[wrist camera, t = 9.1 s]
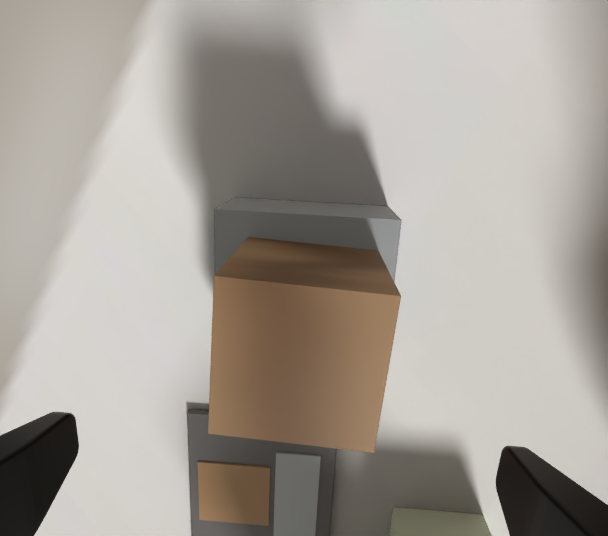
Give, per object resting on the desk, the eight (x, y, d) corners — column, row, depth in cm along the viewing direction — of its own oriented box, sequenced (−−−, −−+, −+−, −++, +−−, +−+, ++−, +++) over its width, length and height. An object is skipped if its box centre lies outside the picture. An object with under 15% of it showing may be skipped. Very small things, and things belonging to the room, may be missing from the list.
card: (337, 419, 22) (338, 425, 22) (326, 562, 25) (326, 570, 25) (189, 409, 23) (186, 414, 22) (194, 551, 26) (192, 558, 25)
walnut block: (378, 250, 16) (400, 295, 11) (360, 368, 17) (374, 452, 13) (247, 236, 16) (213, 275, 11) (240, 354, 17) (208, 433, 13)
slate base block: (387, 205, 19) (401, 220, 16) (372, 343, 21) (382, 386, 18) (236, 196, 20) (214, 209, 16) (236, 333, 22) (215, 374, 18)
